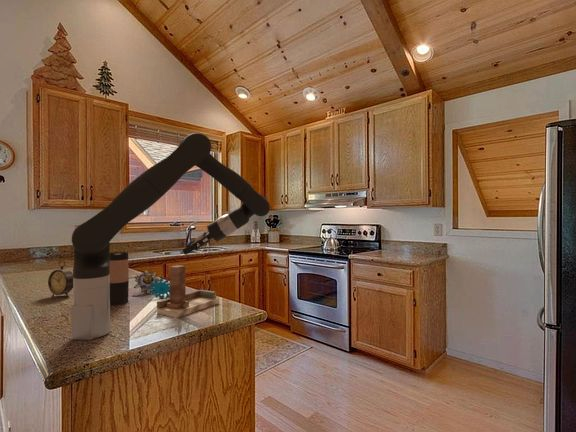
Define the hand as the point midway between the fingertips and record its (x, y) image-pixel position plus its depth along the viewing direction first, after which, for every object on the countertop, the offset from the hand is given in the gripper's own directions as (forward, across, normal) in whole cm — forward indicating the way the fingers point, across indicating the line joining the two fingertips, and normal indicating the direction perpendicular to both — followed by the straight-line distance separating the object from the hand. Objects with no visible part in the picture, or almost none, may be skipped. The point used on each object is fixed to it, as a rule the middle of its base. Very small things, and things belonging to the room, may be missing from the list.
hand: (185, 250), depth 121 cm
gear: (+24, -17, +14) cm, 32 cm away
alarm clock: (+63, -26, -8) cm, 69 cm away
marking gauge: (+12, +7, +15) cm, 21 cm away
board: (+10, +3, +19) cm, 22 cm away
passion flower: (+33, -28, +10) cm, 44 cm away
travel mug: (+37, -10, +5) cm, 39 cm away
